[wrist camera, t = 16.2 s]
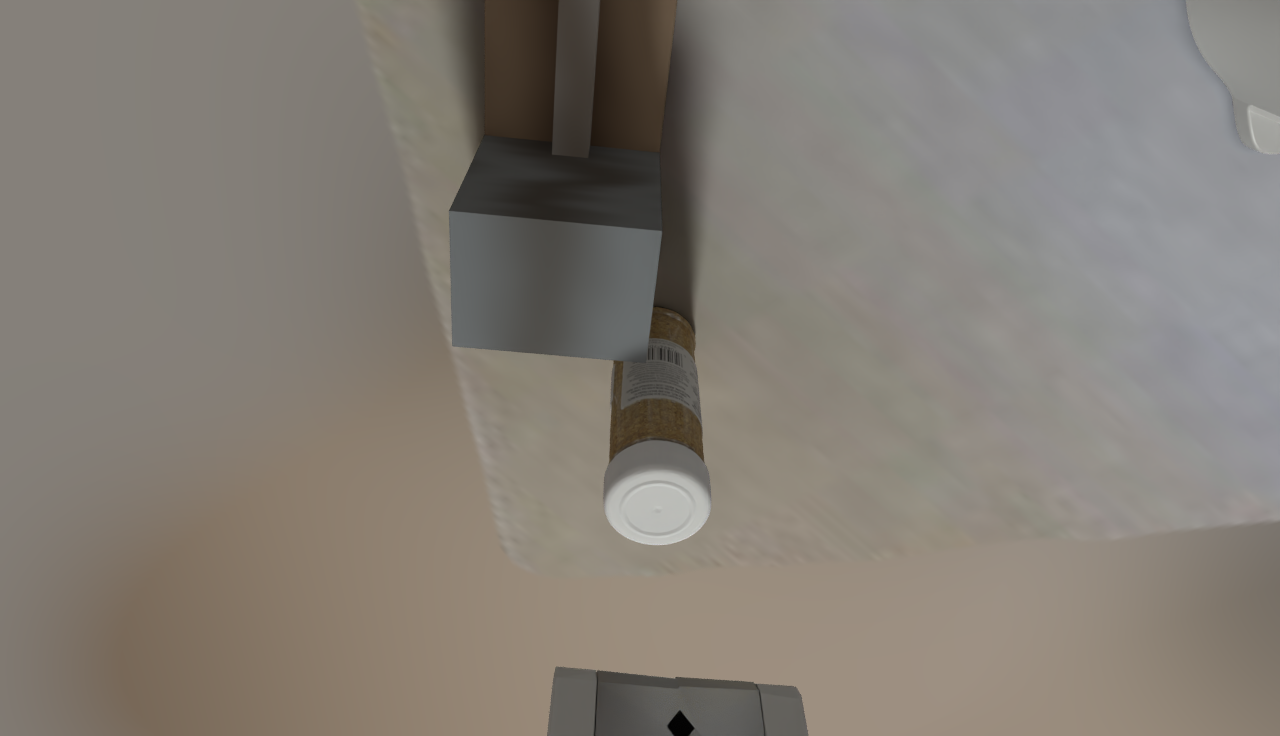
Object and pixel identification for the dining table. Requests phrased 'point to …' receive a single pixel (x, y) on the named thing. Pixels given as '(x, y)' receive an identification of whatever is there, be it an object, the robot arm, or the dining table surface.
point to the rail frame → (564, 181)
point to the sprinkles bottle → (657, 440)
